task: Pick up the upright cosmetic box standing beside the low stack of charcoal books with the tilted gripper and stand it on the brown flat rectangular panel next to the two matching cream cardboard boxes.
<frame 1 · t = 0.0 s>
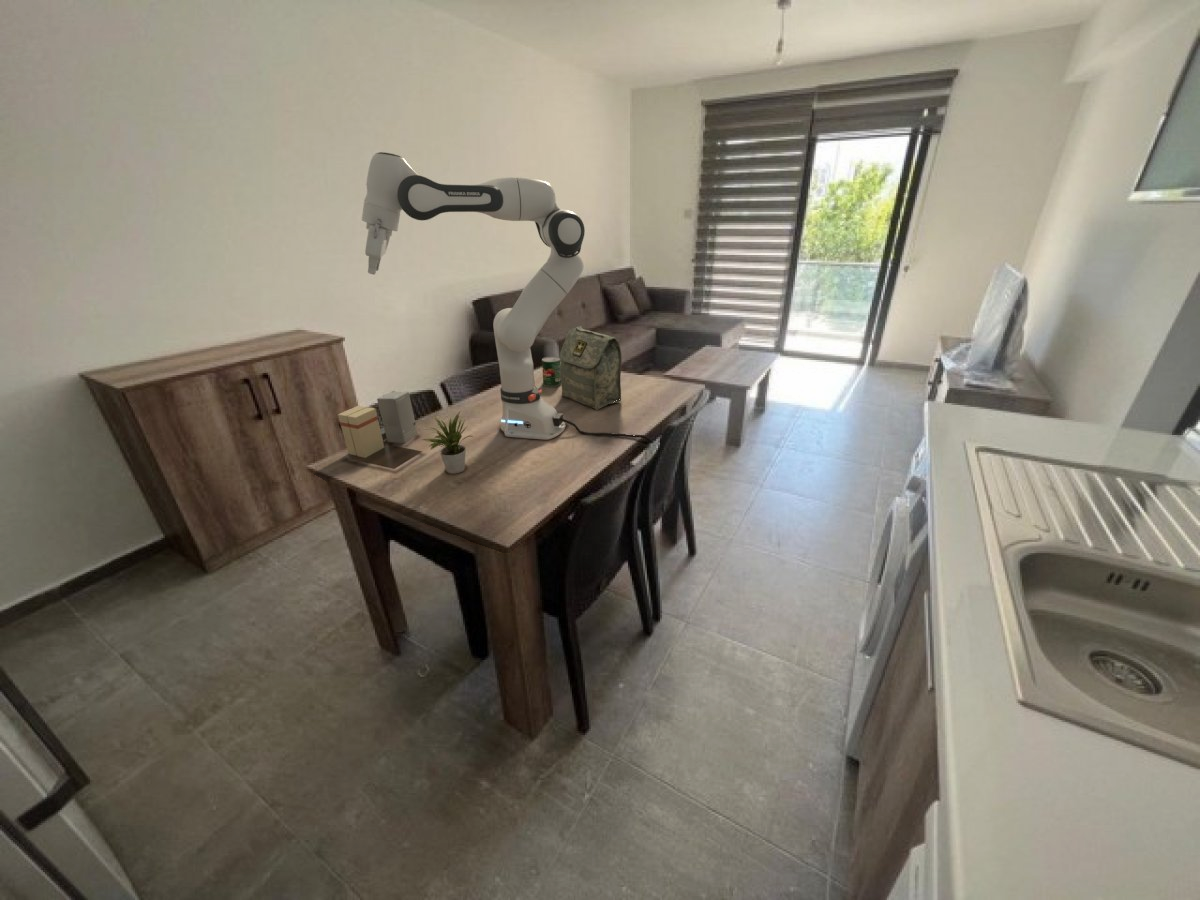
hand: (373, 271, 132), 52 cm above the table, tool tilted 20°, fingers open, 8 cm apart
cream boxes: (366, 450, 147), resting on brown flat rectangular panel
lunch bag: (590, 400, 189), on the table
house plant: (455, 467, 140), on the table
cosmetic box: (403, 440, 156), on the table
brown flat rectangular panel: (383, 457, 145), on the table
grey book stack: (388, 437, 158), on the table
canned tomato: (552, 384, 207), on the table
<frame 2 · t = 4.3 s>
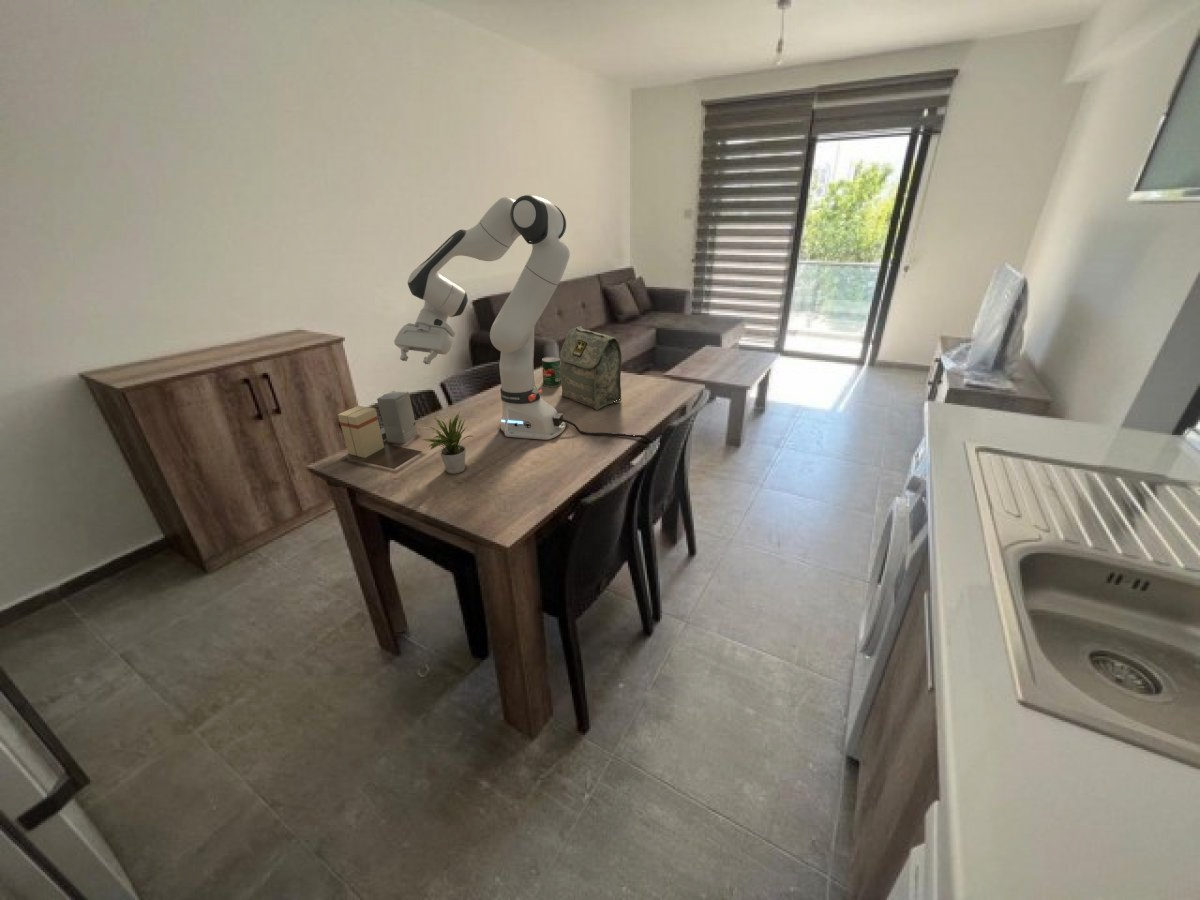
hand: (414, 361, 156), 23 cm above the table, tool tilted 45°, fingers open, 8 cm apart
nothing on the table moved.
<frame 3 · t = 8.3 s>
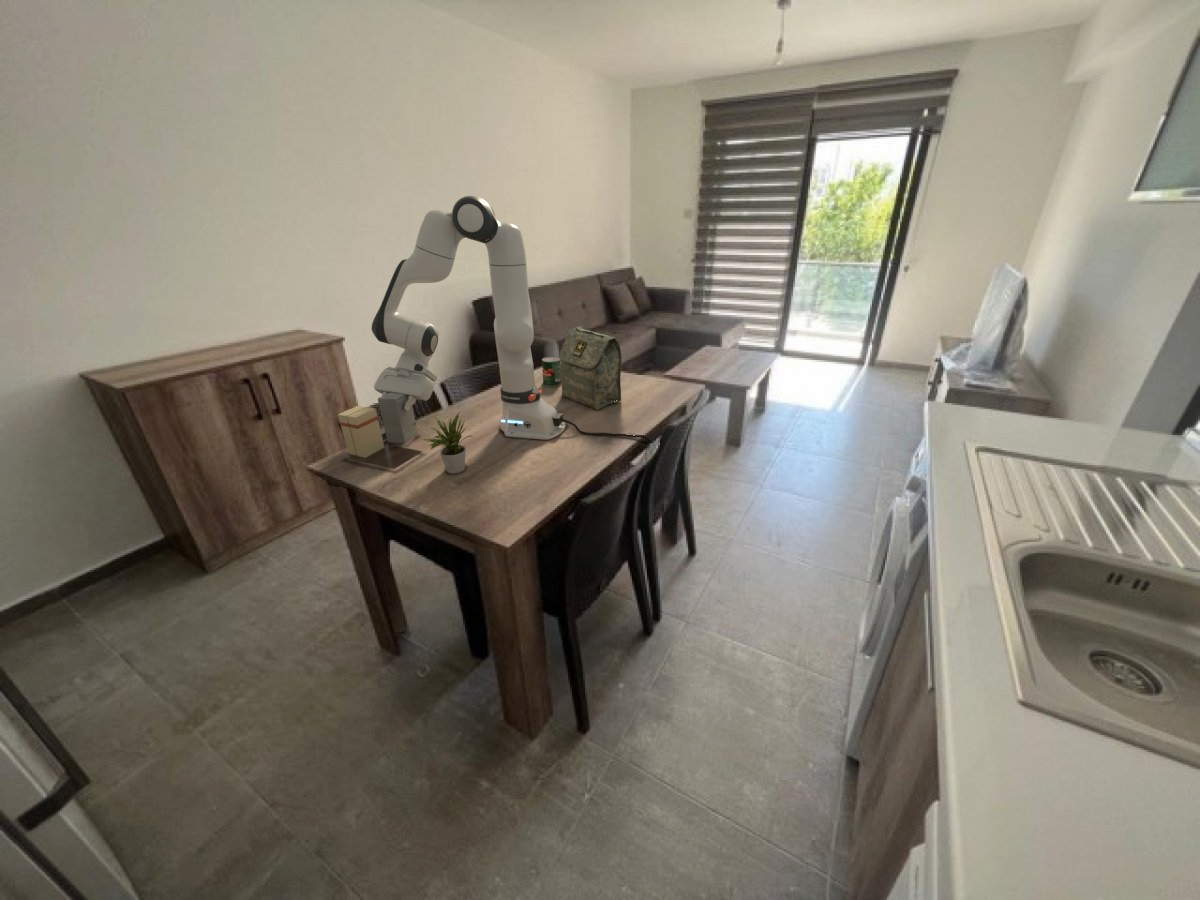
hand: (394, 408, 151), 11 cm above the table, tool tilted 45°, fingers closed on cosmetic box, 7 cm apart
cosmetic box: (403, 440, 156), on the table, touching gripper
everything else where it was.
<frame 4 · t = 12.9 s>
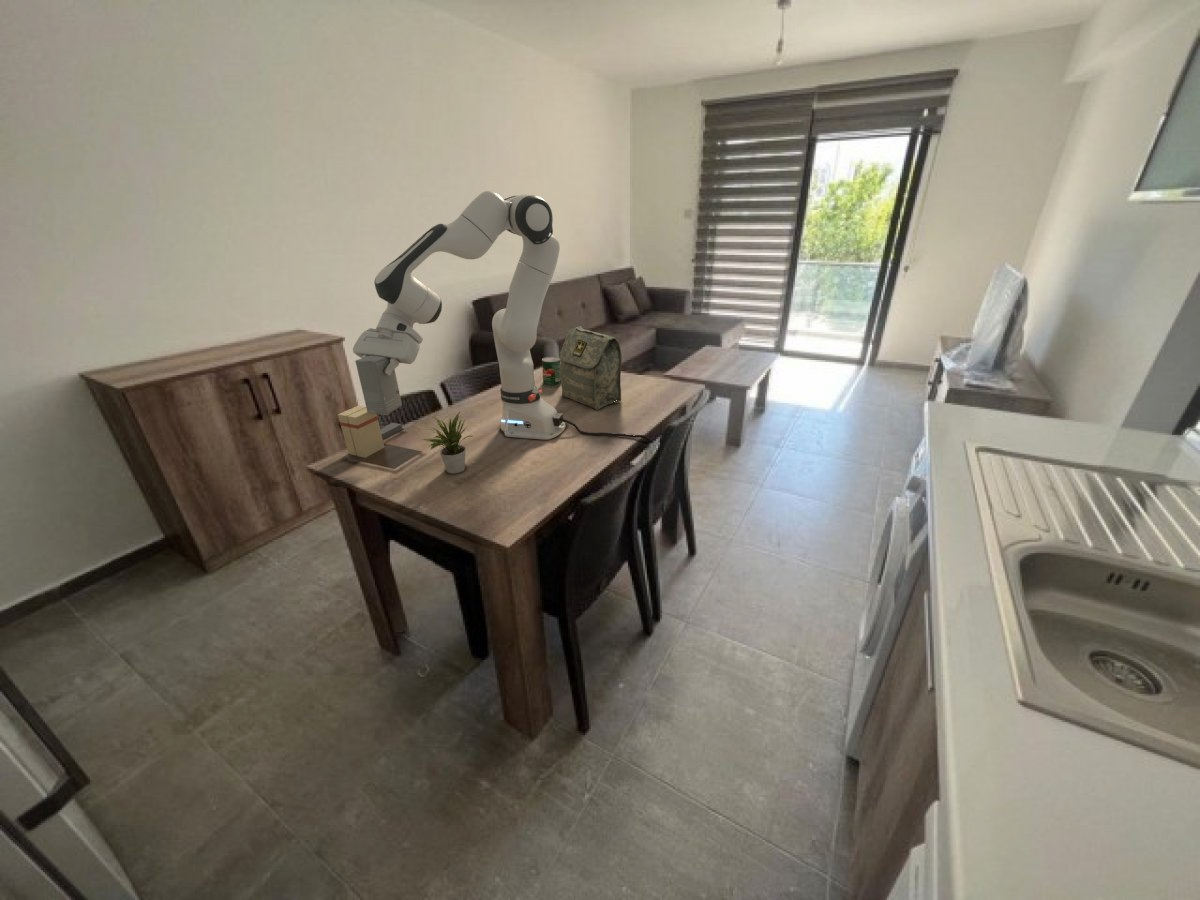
hand: (375, 372, 135), 26 cm above the table, tool tilted 45°, fingers closed on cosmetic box, 7 cm apart
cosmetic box: (384, 410, 141), point 15 cm above the table, touching gripper
everything else where it was.
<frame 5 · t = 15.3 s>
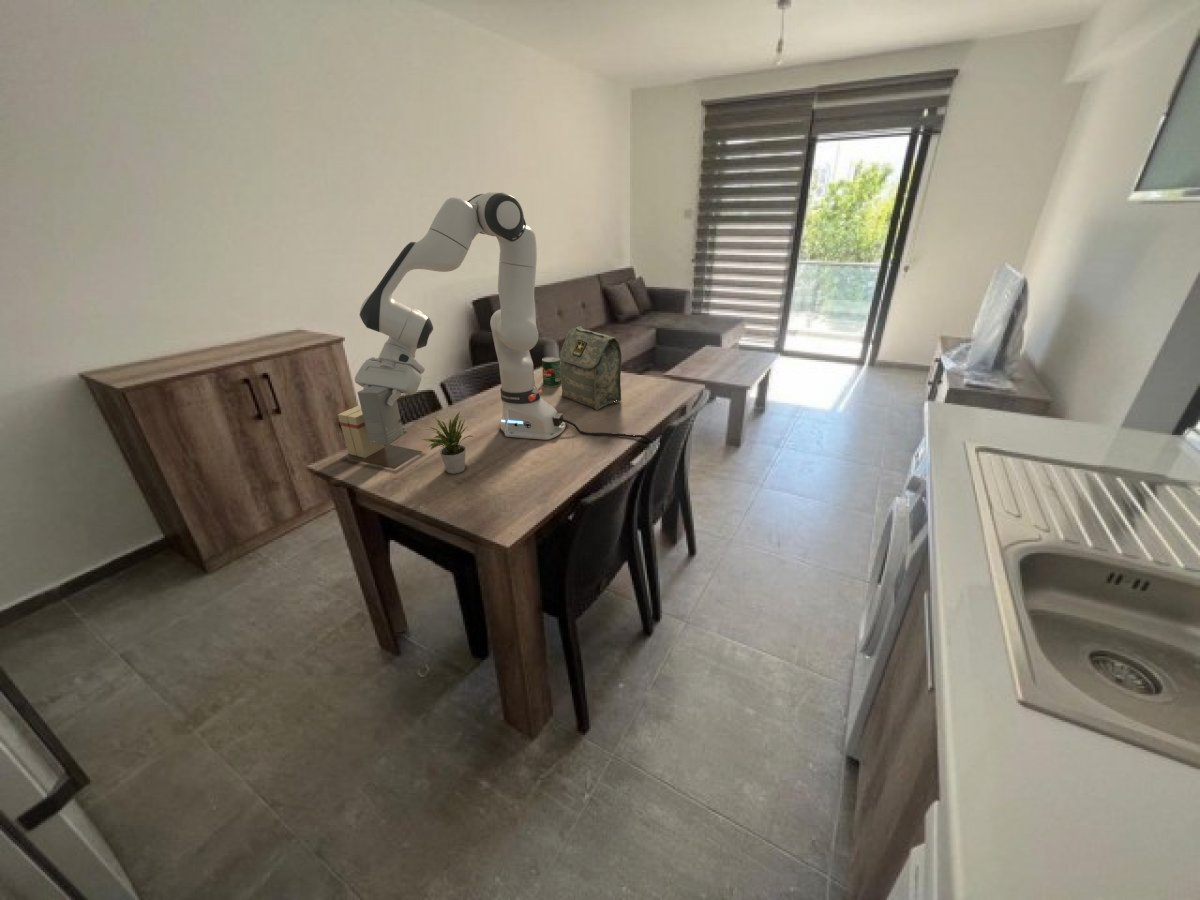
hand: (377, 403, 136), 18 cm above the table, tool tilted 45°, fingers closed on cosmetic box, 7 cm apart
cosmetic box: (386, 439, 141), point 7 cm above the table, touching gripper
everything else where it was.
when the fingers open (13 cm above the table, at t = 17.6 s): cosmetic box stays where it is, resting on brown flat rectangular panel.
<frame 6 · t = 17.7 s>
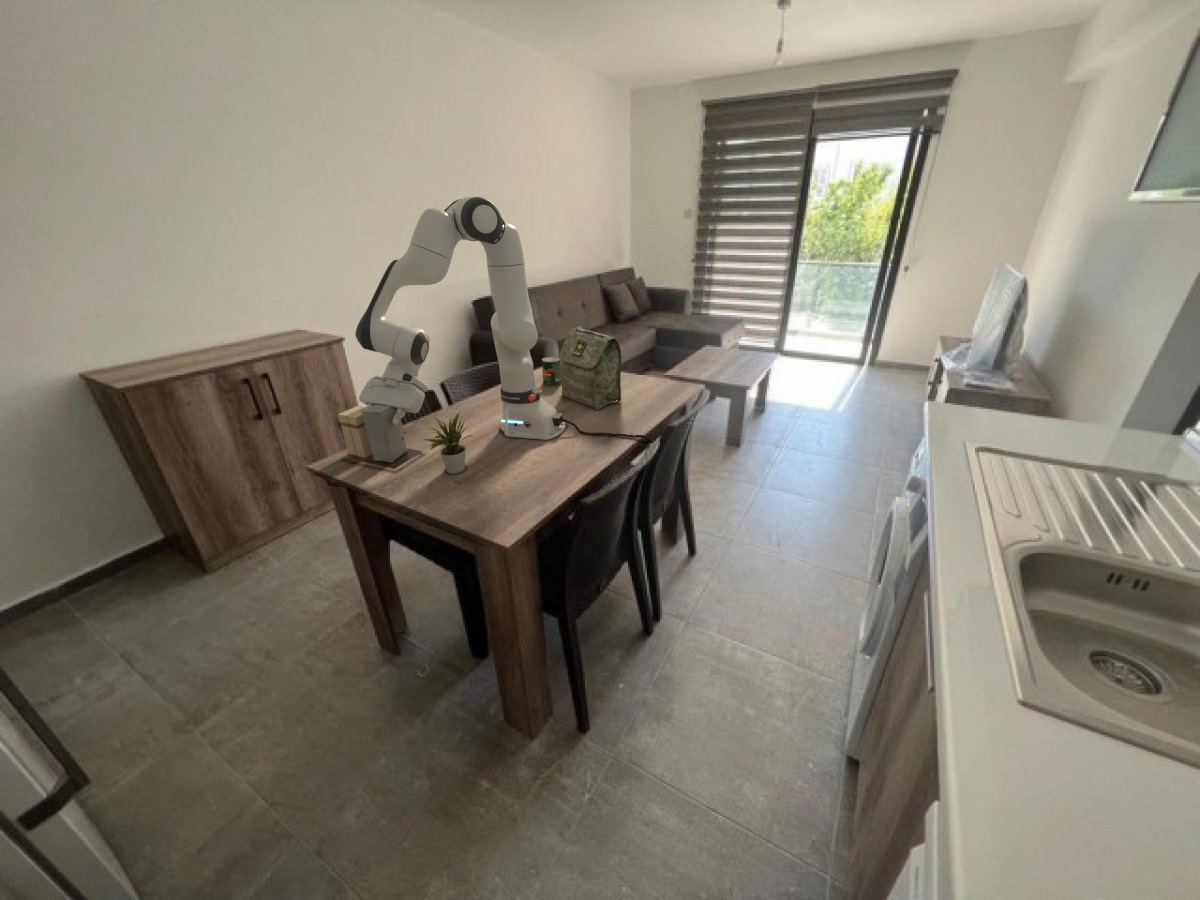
hand: (381, 421, 138), 13 cm above the table, tool tilted 45°, fingers open, 7 cm apart
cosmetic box: (390, 456, 144), point 1 cm above the table, touching gripper, brown flat rectangular panel
everything else where it was.
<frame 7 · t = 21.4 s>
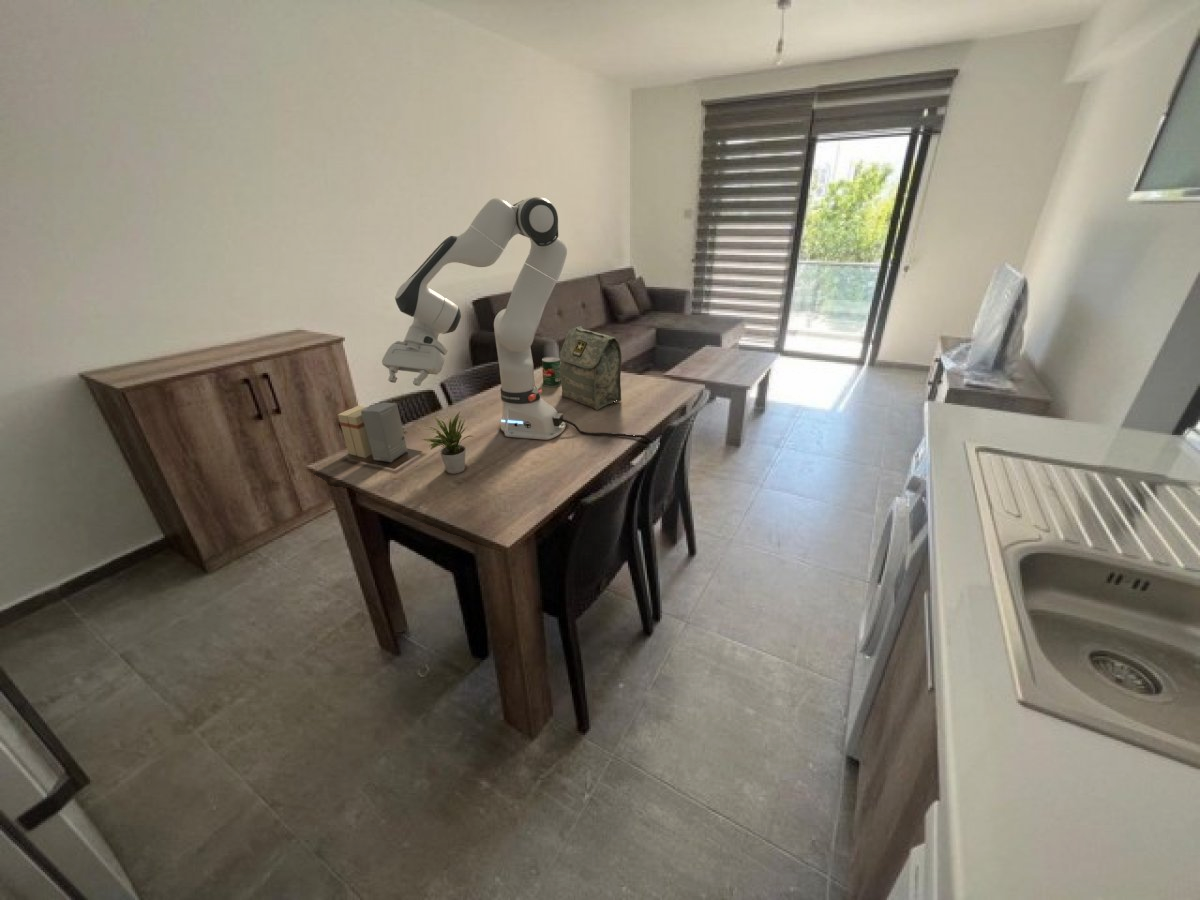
hand: (403, 383, 144), 21 cm above the table, tool tilted 45°, fingers open, 8 cm apart
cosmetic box: (390, 456, 144), point 1 cm above the table, touching brown flat rectangular panel
everything else where it was.
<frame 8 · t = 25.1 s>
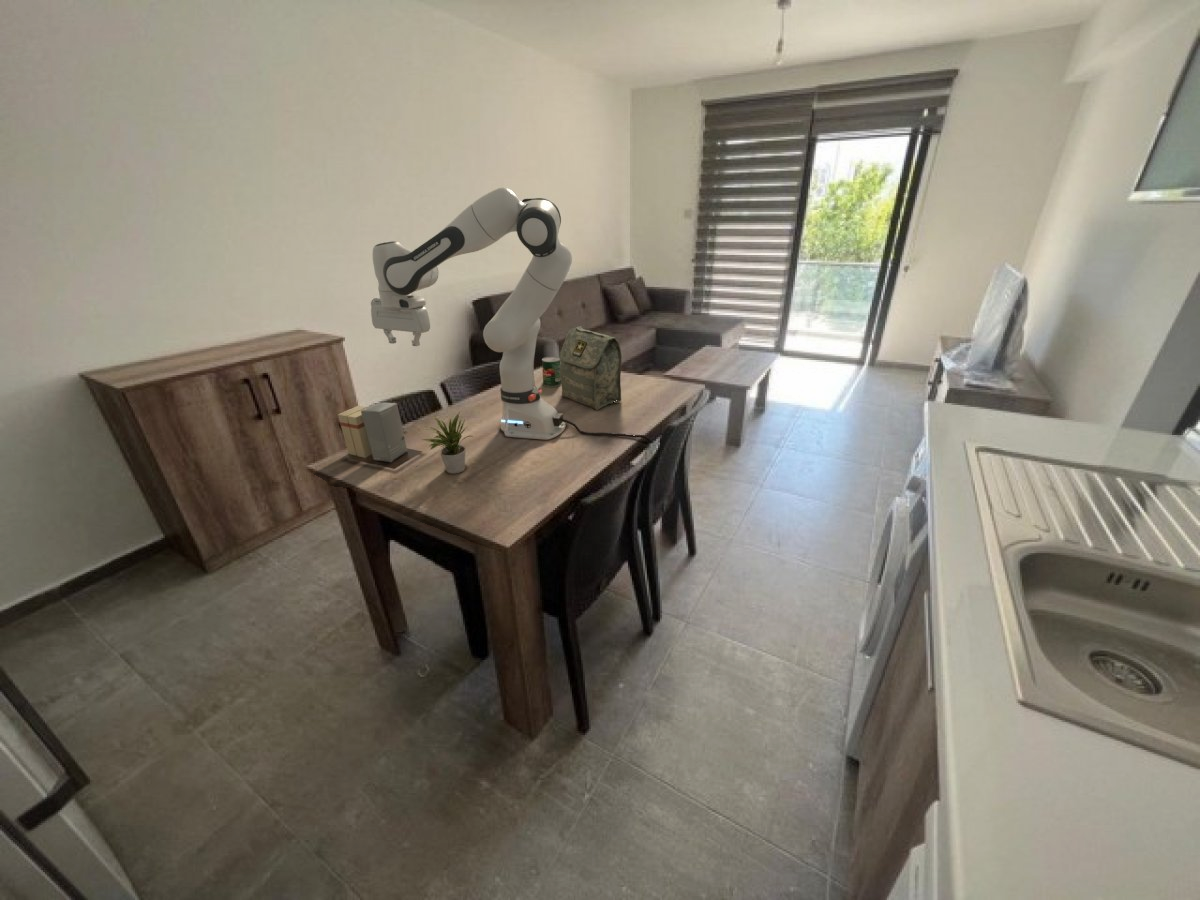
hand: (404, 344, 152), 29 cm above the table, tool pointing down, fingers open, 8 cm apart
nothing on the table moved.
at the end: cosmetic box inside the target area (0.4 cm from its centre), point 1.0 cm above the table; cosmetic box tilted 0°; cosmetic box 9.2 cm from the cream boxes (horizontally) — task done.
